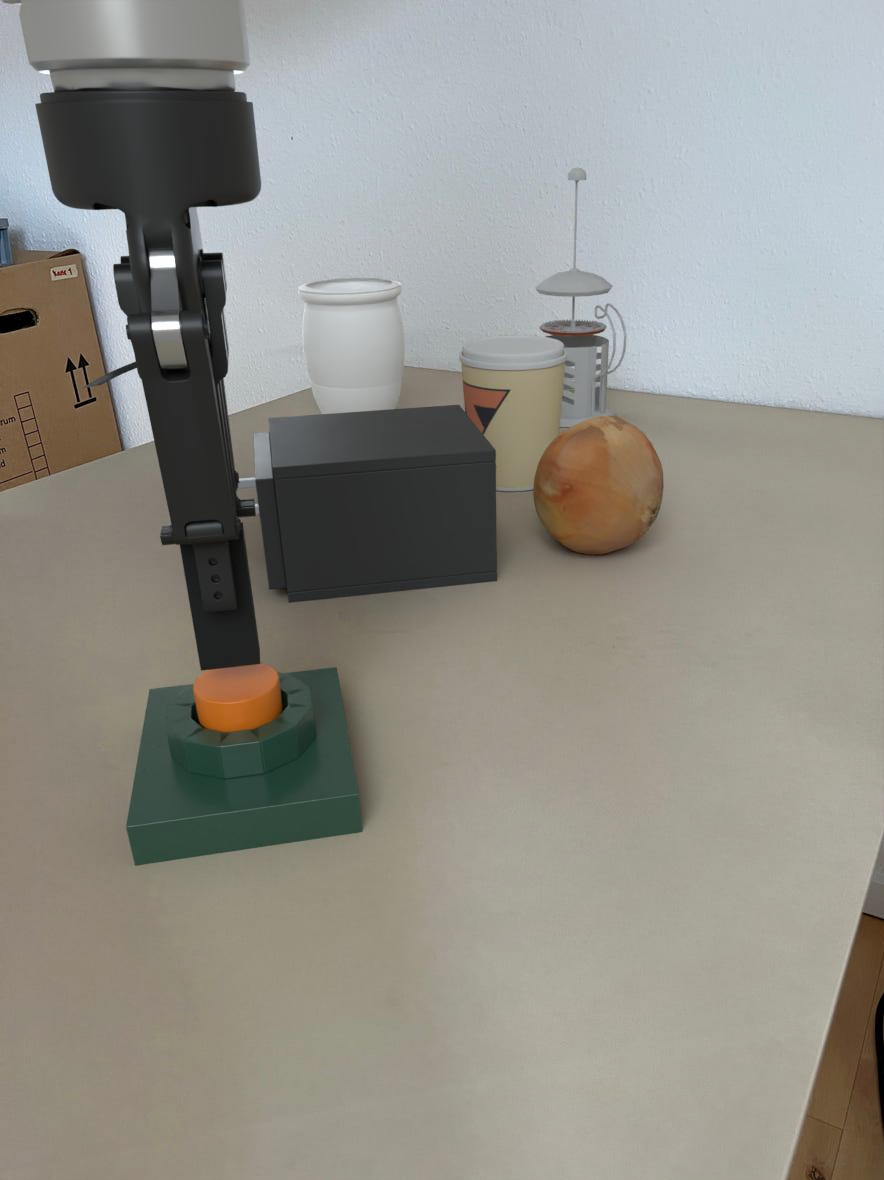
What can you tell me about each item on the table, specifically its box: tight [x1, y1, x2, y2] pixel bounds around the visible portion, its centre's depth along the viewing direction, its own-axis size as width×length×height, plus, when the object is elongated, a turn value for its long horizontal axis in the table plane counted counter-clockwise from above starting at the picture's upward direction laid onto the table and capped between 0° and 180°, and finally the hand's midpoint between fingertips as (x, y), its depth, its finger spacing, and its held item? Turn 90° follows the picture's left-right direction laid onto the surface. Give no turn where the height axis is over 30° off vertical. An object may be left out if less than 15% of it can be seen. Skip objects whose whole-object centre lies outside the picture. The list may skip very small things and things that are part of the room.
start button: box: [193, 662, 283, 732], centre depth 47 cm, size 4×4×2 cm
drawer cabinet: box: [267, 404, 498, 604], centre depth 71 cm, size 15×13×10 cm
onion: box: [532, 415, 665, 556], centre depth 72 cm, size 10×10×10 cm
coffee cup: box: [458, 334, 567, 492], centre depth 87 cm, size 9×9×12 cm
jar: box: [296, 277, 406, 414], centre depth 101 cm, size 11×10×15 cm
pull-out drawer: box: [237, 431, 287, 590], centre depth 70 cm, size 18×11×8 cm, turn 102°
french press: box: [535, 166, 627, 428], centre depth 102 cm, size 10×12×25 cm
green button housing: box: [125, 666, 363, 867], centre depth 48 cm, size 12×10×4 cm
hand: (230, 659), depth 46 cm, fingers closed
